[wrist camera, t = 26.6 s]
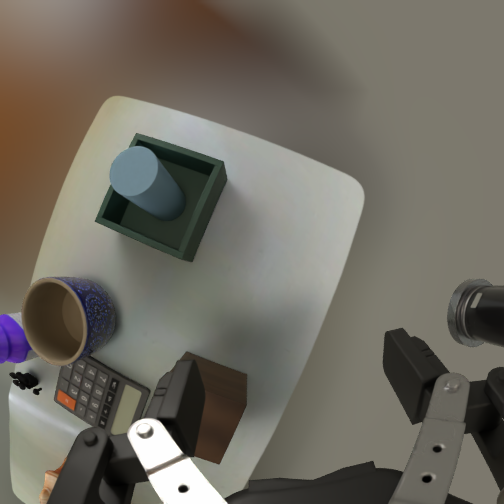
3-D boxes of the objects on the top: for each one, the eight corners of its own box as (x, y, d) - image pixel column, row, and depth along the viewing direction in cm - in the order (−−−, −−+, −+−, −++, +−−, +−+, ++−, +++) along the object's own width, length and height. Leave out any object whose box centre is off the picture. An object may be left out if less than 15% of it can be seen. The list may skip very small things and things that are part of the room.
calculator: (66, 344, 40) (149, 392, 39) (69, 343, 41) (150, 390, 40) (53, 401, 39) (129, 447, 39) (55, 399, 40) (130, 444, 40)
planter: (130, 346, 41) (96, 366, 30) (71, 350, 41) (30, 366, 30) (117, 271, 42) (78, 270, 31) (59, 282, 42) (14, 282, 30)
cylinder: (177, 178, 42) (147, 137, 28) (191, 210, 42) (165, 180, 28) (145, 195, 42) (103, 161, 28) (158, 227, 41) (118, 205, 27)
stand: (186, 351, 41) (167, 374, 30) (247, 374, 41) (246, 405, 30) (168, 403, 40) (146, 437, 29) (225, 424, 40) (219, 464, 29)
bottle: (28, 330, 41) (-44, 345, 23) (38, 303, 41) (-37, 310, 24) (56, 356, 41) (-13, 384, 23) (67, 329, 41) (-6, 349, 24)
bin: (151, 152, 43) (136, 132, 36) (227, 178, 43) (223, 161, 36) (116, 229, 42) (94, 221, 35) (192, 262, 42) (181, 259, 35)
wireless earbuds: (19, 372, 40) (3, 378, 35) (21, 360, 40) (4, 366, 35) (47, 391, 40) (31, 400, 35) (49, 380, 40) (32, 388, 35)
